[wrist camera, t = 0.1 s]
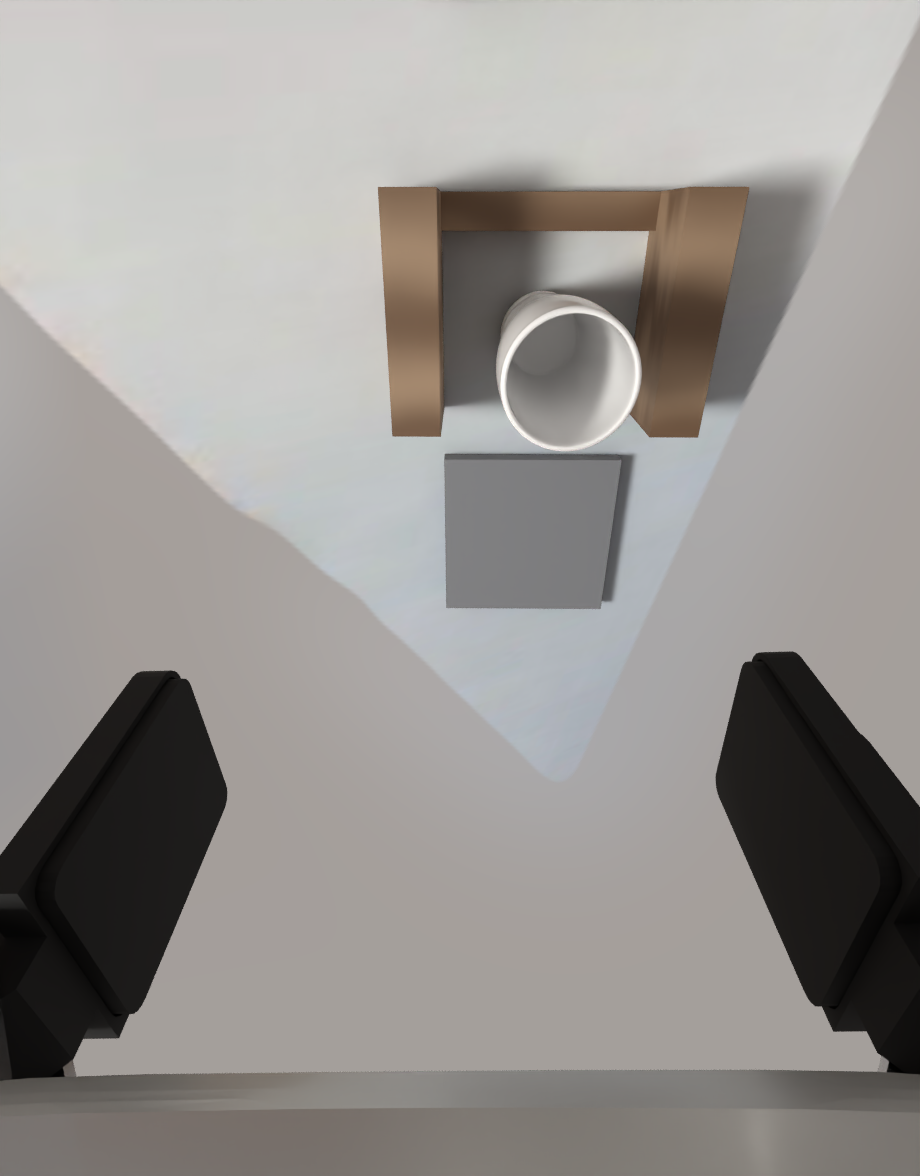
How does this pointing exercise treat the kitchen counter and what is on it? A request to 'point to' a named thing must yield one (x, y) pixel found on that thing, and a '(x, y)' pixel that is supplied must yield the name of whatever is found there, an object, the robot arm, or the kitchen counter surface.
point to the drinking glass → (566, 370)
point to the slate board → (528, 529)
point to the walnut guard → (673, 218)
